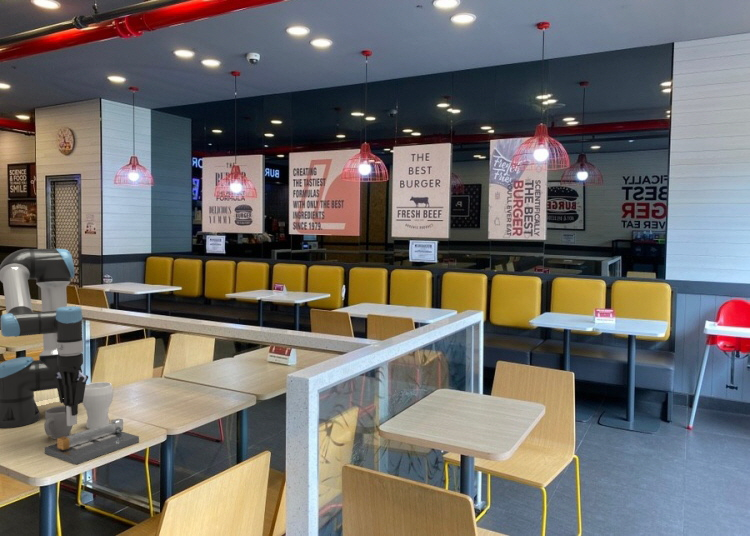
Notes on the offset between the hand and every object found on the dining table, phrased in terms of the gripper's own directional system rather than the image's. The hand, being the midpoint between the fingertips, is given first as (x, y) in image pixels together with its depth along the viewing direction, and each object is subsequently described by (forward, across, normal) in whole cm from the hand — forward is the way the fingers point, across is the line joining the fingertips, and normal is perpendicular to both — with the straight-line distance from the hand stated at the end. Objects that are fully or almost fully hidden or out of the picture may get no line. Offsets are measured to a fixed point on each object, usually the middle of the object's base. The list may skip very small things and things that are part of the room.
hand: (72, 424), depth 187 cm
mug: (+7, -11, +4) cm, 14 cm away
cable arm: (+5, +6, +3) cm, 8 cm away
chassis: (+7, +7, +1) cm, 10 cm away
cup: (+7, -8, +18) cm, 21 cm away
